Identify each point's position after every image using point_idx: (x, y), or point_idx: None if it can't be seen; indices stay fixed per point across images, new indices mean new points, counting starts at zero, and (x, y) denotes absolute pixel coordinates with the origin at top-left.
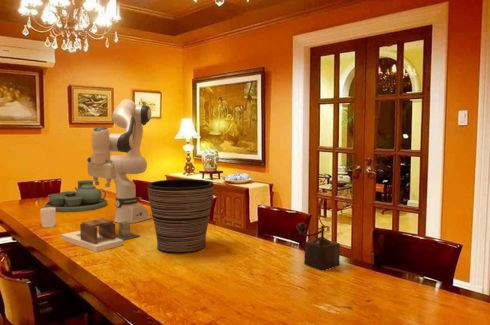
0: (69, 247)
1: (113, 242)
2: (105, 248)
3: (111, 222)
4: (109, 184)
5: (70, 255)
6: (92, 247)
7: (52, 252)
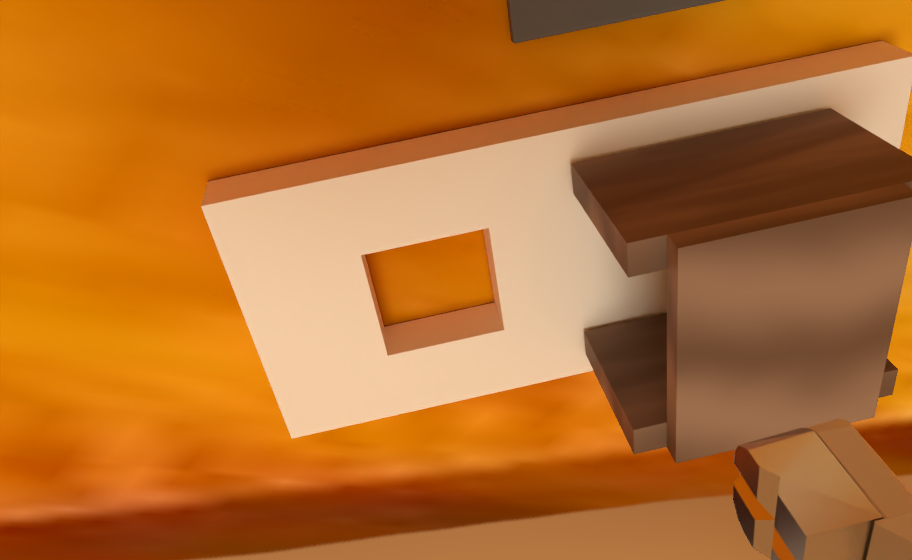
0: (575, 396)
1: None
2: None
3: (908, 214)
4: (893, 495)
5: None
6: None
7: (605, 488)
